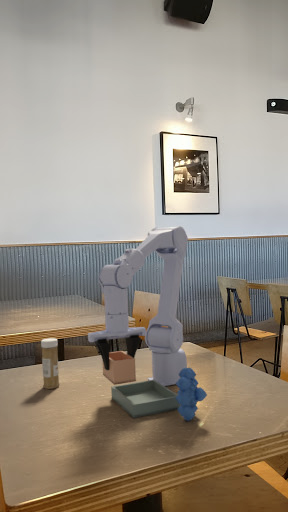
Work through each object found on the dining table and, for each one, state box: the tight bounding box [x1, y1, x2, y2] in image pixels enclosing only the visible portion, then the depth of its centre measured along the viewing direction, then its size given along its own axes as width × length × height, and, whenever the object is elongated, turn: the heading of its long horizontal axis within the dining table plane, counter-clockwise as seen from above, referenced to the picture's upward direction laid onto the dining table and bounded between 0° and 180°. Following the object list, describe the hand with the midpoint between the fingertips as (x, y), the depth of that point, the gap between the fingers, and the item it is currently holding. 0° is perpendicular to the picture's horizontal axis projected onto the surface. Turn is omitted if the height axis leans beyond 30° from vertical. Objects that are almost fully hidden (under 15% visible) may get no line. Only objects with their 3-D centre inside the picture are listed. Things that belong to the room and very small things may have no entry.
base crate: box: [111, 380, 180, 419], centre depth 109 cm, size 12×15×3 cm
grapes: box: [175, 367, 208, 422], centre depth 97 cm, size 12×7×12 cm, turn 162°
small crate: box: [101, 350, 137, 386], centre depth 110 cm, size 6×9×6 cm, turn 23°
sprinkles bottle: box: [40, 337, 60, 390], centre depth 125 cm, size 5×5×14 cm
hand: (118, 367), depth 110 cm, fingers closed on small crate, 5 cm apart
